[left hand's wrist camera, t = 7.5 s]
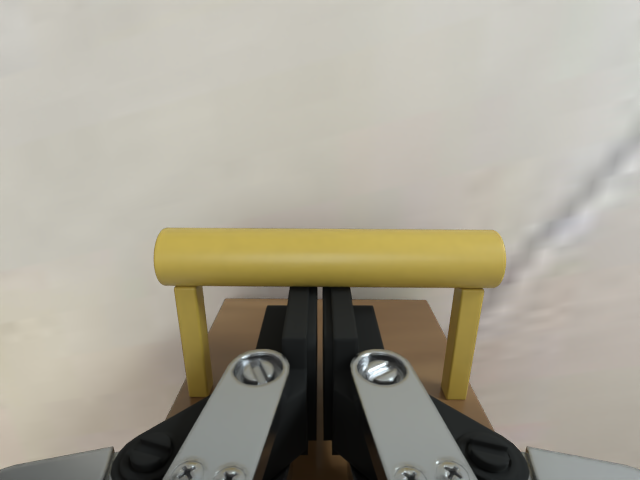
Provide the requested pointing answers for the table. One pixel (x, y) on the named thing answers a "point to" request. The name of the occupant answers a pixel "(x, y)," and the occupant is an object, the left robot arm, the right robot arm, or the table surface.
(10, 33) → the table surface
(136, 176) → the table surface
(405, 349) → the drawer
